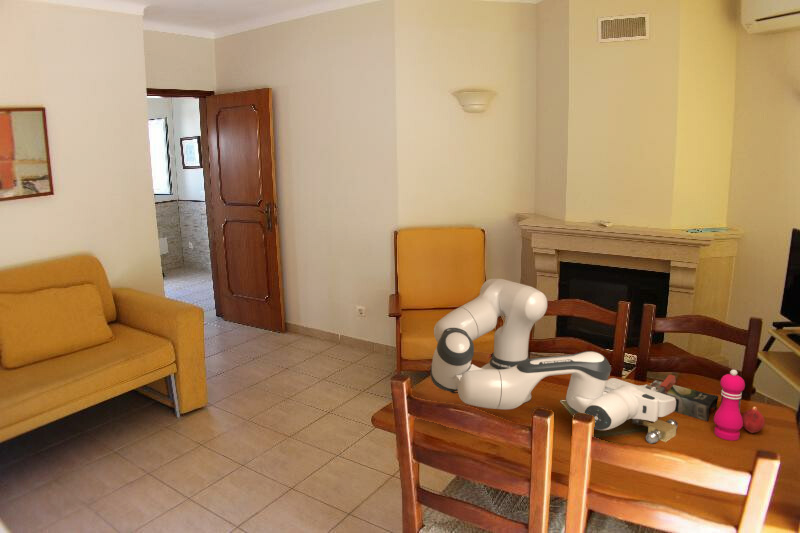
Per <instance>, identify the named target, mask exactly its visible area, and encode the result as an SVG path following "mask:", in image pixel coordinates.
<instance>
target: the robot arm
mask: <svg viewBox="0 0 800 533" xmlns="http://www.w3.org/2000/svg"><path fill="white" fill-rule="evenodd" d="M479 290H480V291H479V295H477V297H475V298H473V299H472V300H471V301H468V302H466V303H465V304H463V305H461V306H459V307H457V308H455V309H453V310H451V311H450V312H449V313H447V314H446V315H444V316H443V317H442V318H441V319H439V320H438V321H437V322H436V323H435V325H434V327H433V335H434V339H435V341H436V342H437V344H436V346H435V349H434V351H433V352H434V353H433V356H432V361H431V366H430V379H431V382H432V383H433V385H434V386H436V387H437V388H438V389H440V390H442V391H445V392H450V393H452V394H454V395H455V394H458V397H459V400H461V401H462V402H463V403H465V404H466V405H470V406H474V407H479V408H484V409H492V410H493V409H495V410H514V409H517V408H518V407H520V406H521V405H522V404H524V403H527V402H529V401H530V400H531V399H532V391H533V389H534V388H535V387H536V386H537V385H538V384H539V383H540V381H542V380H543V379H544V378H547V377H551V376H559V375H570V374H571V375H570V379H569V382H568V383H569V384H568V386H567V387H568V388H567V391H566V396H565V402H566V404H567V406H568V407H569V409H570V410H572V412H573V413H574V414H576V413H578V412H580V413H586V414H589V415H593V416H594V418H595V427H594V428H593V429H594V430H598V431H607V430H612V429H614V428H617V427H618V426H620V425H622V424H624V423H625V422H626V421H628V420H630V419H631V420H632V419H642V420H645V421H647V422H652V423H654V422H655V421H657V420H659V418H663V417H667V416H669V415H670V414H672V413H673V411H674V410H675V408H676V399H675V398H674V397H671V396H668V395H665V394H662V393H659V392H656V387H653V386H650V385H649V384H643V385H640V384H638V385H637V384H634V383H631V382H628V381H625V380H623V379H618V378H616V377H610V378H609V376H610V375H611V372H612V366H611V365H610V362H609V361H608V359H607V357H606V356H604V354H602V353H600V352H597V351H591V350H587V351H582V352H578V353H573V354H567V355H566V354H565V355H555V356H554V355H552V356H544V357H543V356H541V357H533V358H530V356H529V344H530V343H529V342H530V334H531V331H532V328H533V326H534V325H535V323H536V322H538V321H540V320H541V319H542V317H544V315H545V314H546V312H547V310H548V298H547V296H546V295H545V293H543V292H541V291H540V290H539V289H537V288H535V287H533V286H531V285H527V284H524V283H519V282H515V281H511V280H508V279H504V278H489V279H487V280H485V282H484V283H483V284H482V286H481V287H480V289H479ZM501 316H502V317H503V316H505V317H504V318H505V320H504V324H503V325H502V326H500V327H498V328H497V329H496V330H495V332H494V335H493V336H494V337H493V338H494V340H493V341H494V342H493V352H492V353H490V354H487V359H489V362H487V363H486V364H484V365H483V366H481V367H479V366H477V365H475V364H473V363H472V359H473V358H474V355H475V354H474V353H475V346H474V341H476V340H477V339H478V338H480V337H482V336H484V335H486V334H488V333H490V332H491V331H493V330H494V329H495V328H496V326H497V324H498V318H499V317H501ZM471 363H472V364H471Z"/></svg>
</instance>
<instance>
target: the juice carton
mask: <svg viewBox="0 0 800 533" xmlns="http://www.w3.org/2000/svg"><path fill="white" fill-rule="evenodd" d="M662 383H663V381H660V380H657V379H656V380H654V381H653V382H651V383H650V385H649V386H653V387H656V392H657V391H658V390H659V388H660V385H661V384H662ZM664 394H665V395H668V396H671V397H674V398H675V399H676V408H675V410H674V411H673V412H674V413H676V414H681V415H684V416H686V417H687V416H688V417H691V418H694V419H698V420H700V421H705V422H709V417H710V412H711V410H712V409H713V412H714V411H717V409H718V402H719V395H717V394H711V393H707V392H704V391H699V390H697V389H691V388H688V387H683V386H679V385H676V384H674V385H673V386H672V387H671V388H670V390H669V391H668V392H667V393H664ZM673 412H672V413H673Z"/></svg>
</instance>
